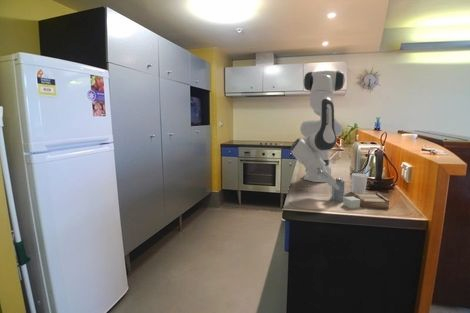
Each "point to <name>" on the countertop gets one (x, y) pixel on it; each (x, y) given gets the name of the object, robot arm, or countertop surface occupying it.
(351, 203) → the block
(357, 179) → the white cup
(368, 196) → the stand
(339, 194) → the housing
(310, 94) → the robot arm
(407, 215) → the countertop surface
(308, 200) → the countertop surface
